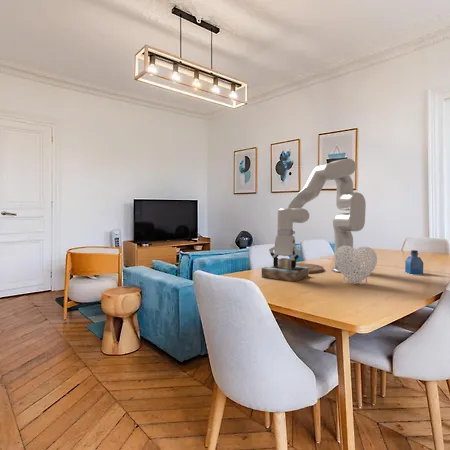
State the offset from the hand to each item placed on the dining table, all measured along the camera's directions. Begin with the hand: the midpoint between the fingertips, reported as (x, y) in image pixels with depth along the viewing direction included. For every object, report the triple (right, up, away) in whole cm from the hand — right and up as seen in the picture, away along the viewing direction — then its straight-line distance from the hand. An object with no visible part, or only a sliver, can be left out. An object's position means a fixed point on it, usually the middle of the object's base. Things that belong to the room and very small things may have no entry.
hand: (284, 266), depth 167 cm
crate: (0, -5, 0) cm, 5 cm away
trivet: (+13, -5, +20) cm, 24 cm away
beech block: (0, -5, 0) cm, 5 cm away
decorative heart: (+29, -6, -16) cm, 34 cm away
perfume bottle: (+69, -4, +6) cm, 69 cm away
